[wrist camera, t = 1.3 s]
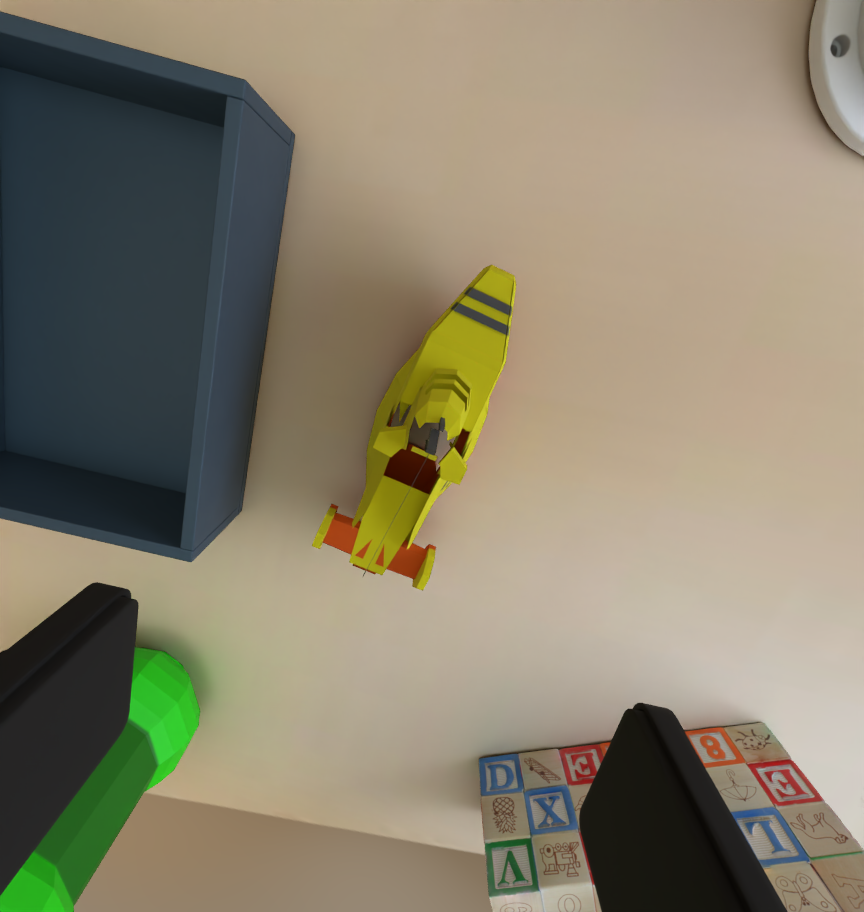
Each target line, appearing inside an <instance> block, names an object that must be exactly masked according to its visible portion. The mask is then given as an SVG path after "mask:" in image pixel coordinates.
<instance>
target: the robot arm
mask: <svg viewBox="0 0 864 912" xmlns="http://www.w3.org/2000/svg"><path fill="white" fill-rule="evenodd" d="M808 55H809V65H810V75H811V83H812V86H813V90H814V93H815V97H816V100H817V103H818V107H819V108H820V110H821V112H822V114H823V116H824V118H825V119H826V121H827V123H828V125H829V127H830V128H831V129H832V130H833V131H834V133H835V134H836V135H837V136H838V137H839V138H840V139H841V140H842V141H843V143H844V144H845V145H847V146H848V147H850V148H851V149H853V150H854V151H856V152H857V153H859V154H860V155H862V156H863V157H864V0H816V4H815V8H814V12H813V16H812V21H811V27H810V40H809V53H808ZM137 617H138V602H137V600H135V599H131V593H130V591H129V590H128V589H125V588H120V587H116V586H111V585H107V584H102V583H98V582H97V583H92V584H90V585H89V586H87V587H86V588H85V589H83V590H82V591H81V592H80V593H78V594H77V595H76V596H75V597H73V598H72V599H71V600H70V601H68V602H67V603H66V604H65V605H63V606H62V607H61V608H59V609H58V610H57V611H56V612H54V613H53V614H52V615H51V616H49V617H48V618H47V619H46V620H44V621H43V622H42V623H40V624H39V625H38V626H37V627H35V628H34V629H33V630H32V631H30V632H29V633H28V634H27V635H25V636H24V637H23V638H22V639H20V640H19V641H18V642H16V643H15V644H14V645H13V646H11V647H10V648H9V649H8V650H4V651H2V652H0V896H1V894H2V893H3V892H4V890H5V889H6V888H7V886H8V885H9V884H10V882H11V881H12V880H13V878H14V877H15V876H16V874H17V873H18V872H19V870H20V869H21V868H22V866H23V865H24V864H25V862H26V861H27V860H28V858H29V857H30V855H31V854H32V853H33V851H34V850H35V849H36V847H37V846H38V845H39V843H40V842H41V841H42V839H43V838H44V837H45V835H46V834H47V833H48V831H49V830H50V829H51V827H52V826H53V825H54V823H55V822H56V821H57V819H58V818H59V817H60V815H61V814H62V813H63V811H64V810H65V809H66V807H67V806H68V805H69V803H70V802H71V801H72V799H73V798H74V797H75V795H76V794H77V793H78V791H79V790H80V789H81V787H82V786H83V785H84V783H85V782H86V781H87V779H88V778H89V777H90V775H91V774H92V773H93V771H94V770H95V769H96V767H97V766H98V765H99V763H100V762H101V761H102V759H103V758H104V757H105V755H106V754H107V753H108V751H109V750H110V749H111V747H112V746H113V745H114V743H115V742H116V741H117V739H118V738H119V736H120V735H121V733H122V732H123V730H124V728H125V726H126V723H127V720H128V717H129V712H130V700H131V688H132V676H133V664H134V653H135V641H136V629H137ZM579 826H580V832H581V836H582V839H583V843H584V847H585V851H586V855H587V858H588V862H589V866H590V870H591V873H592V877H593V881H594V885H595V888H596V892H597V896H598V900H599V904H600V907H601V911H602V912H788V911H787V910H786V908H785V906H784V904H783V903H782V901H781V899H780V897H779V896H778V894H777V892H776V890H775V889H774V887H773V885H772V883H771V882H770V880H769V878H768V876H767V875H766V873H765V871H764V869H763V868H762V866H761V864H760V862H759V861H758V859H757V857H756V855H755V854H754V852H753V850H752V849H751V847H750V845H749V843H748V842H747V840H746V838H745V836H744V835H743V833H742V831H741V829H740V828H739V826H738V824H737V822H736V821H735V819H734V817H733V815H732V814H731V812H730V810H729V808H728V807H727V805H726V803H725V801H724V800H723V798H722V796H721V794H720V793H719V791H718V789H717V787H716V786H715V784H714V782H713V780H712V779H711V777H710V775H709V773H708V772H707V770H706V768H705V766H704V765H703V763H702V761H701V760H700V758H699V756H698V754H697V753H696V751H695V749H694V747H693V746H692V744H691V742H690V740H689V739H688V737H687V735H686V733H685V732H684V730H683V728H682V726H681V725H680V723H679V721H678V719H677V718H676V716H675V715H674V713H673V712H672V711H671V710H669V709H667V708H662V707H658V706H653V705H649V704H644V703H637V704H636V705H635V706H634V707H633V709H627V710H626V711H625V713H624V714H623V717H622V719H621V721H620V723H619V725H618V727H617V730H616V732H615V734H614V736H613V738H612V741H611V743H610V745H609V747H608V749H607V752H606V754H605V756H604V758H603V760H602V762H601V765H600V767H599V769H598V771H597V773H596V776H595V778H594V780H593V782H592V784H591V786H590V789H589V791H588V793H587V795H586V797H585V800H584V802H583V804H582V806H581V809H580V814H579Z"/></svg>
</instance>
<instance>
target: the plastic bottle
mask: <svg viewBox="0 0 864 912" xmlns="http://www.w3.org/2000/svg"><path fill="white" fill-rule="evenodd" d="M199 716H200V709H199V706H198V703H197V699H196V696H195V693H194V690H193V687H192V684H191V681H190V677H189V674H188V673H187V672H186V671H185V670H184V668H183V666H182V665H181V664H180V663H179V662H177V661H176V660H175V659H174V658H172V657H171V656H170V655H169V654H167V653H166V652H163V651H158V650H152V649H147V648H137V647H135V653H134V664H133V676H132V688H131V700H130V712H129V717H128V720H127V723H126V726H125V728H124V730H123V732H122V733H121V735H120V736H119V738H118V739H117V741H116V742H115V743H114V745H113V746H112V747H111V749H110V750H109V751H108V753H107V754H106V755H105V757H104V758H103V759H102V761H101V762H100V763H99V765H98V766H97V767H96V769H95V770H94V771H93V773H92V774H91V775H90V777H89V778H88V779H87V781H86V782H85V783H84V785H83V786H82V787H81V789H80V790H79V791H78V793H77V794H76V795H75V797H74V798H73V799H72V801H71V802H70V803H69V805H68V806H67V807H66V809H65V810H64V811H63V813H62V814H61V815H60V817H59V818H58V819H57V821H56V822H55V823H54V825H53V826H52V827H51V829H50V830H49V831H48V833H47V834H46V835H45V837H44V838H43V839H42V841H41V842H40V843H39V845H38V846H37V847H36V849H35V850H34V851H33V853H32V854H31V855H30V857H29V858H28V860H27V861H26V862H25V864H24V865H23V866H22V868H21V869H20V870H19V872H18V873H17V874H16V876H15V877H14V878H13V880H12V881H11V882H10V884H9V885H8V886H7V888H6V889H5V890H4V892H3V893H2V894H1V896H0V912H74V905H75V903H76V902H77V900H78V899H79V897H80V895H81V894H82V892H83V890H84V889H85V887H86V886H87V884H88V882H89V881H90V879H91V877H92V876H93V874H94V873H95V871H96V869H97V868H98V866H99V864H100V863H101V861H102V859H103V858H104V856H105V855H106V853H107V851H108V850H109V848H110V847H111V845H112V843H113V842H114V840H115V838H116V837H117V835H118V834H119V832H120V830H121V829H122V827H123V825H124V824H125V822H126V821H127V819H128V817H129V816H130V814H131V812H132V811H133V809H134V808H135V806H136V804H137V803H138V801H139V799H140V798H141V796H142V795H143V793H144V792H145V791H147V790H148V789H150V788H151V787H153V786H155V785H156V784H158V783H159V782H160V781H162V780H163V779H164V778H165V777H166V776H168V775H169V774H170V773H171V772H172V771H173V770H174V769H175V767H176V766H177V764H178V762H179V760H180V759H181V757H182V755H183V753H184V751H185V750H186V748H187V746H188V744H189V742H190V740H191V738H192V736H193V735H194V733H195V731H196V729H197V727H198V725H199Z"/></svg>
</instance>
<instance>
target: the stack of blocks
mask: <svg viewBox="0 0 864 912" xmlns="http://www.w3.org/2000/svg"><path fill="white" fill-rule="evenodd" d="M684 732H685V733H686V735H687V737H688V739H689V740H690V742H691V744H692V746H693V747H694V749H695V751H696V753H697V754H698V756H699V758H700V760H701V761H702V763H703V765H704V766H705V768H706V770H707V772H708V773H709V775H710V777H711V779H712V780H713V782H714V784H715V786H716V787H717V789H718V791H719V793H720V794H721V796H722V798H723V800H724V801H725V803H726V805H727V807H728V808H729V810H730V812H731V814H732V815H733V817H734V819H735V821H736V822H737V824H738V826H739V828H740V829H741V831H742V833H743V835H744V836H745V838H746V840H747V842H748V843H749V845H750V847H751V849H752V850H753V852H754V854H755V855H756V857H757V859H758V861H759V862H760V864H761V866H762V868H763V869H764V871H765V873H766V875H767V876H768V878H769V880H770V882H771V883H772V885H773V887H774V889H775V890H776V892H777V894H778V896H779V897H780V899H781V901H782V903H783V904H784V906H785V908H786V910H787V911H788V912H864V850H863V848H862V847H861V846H860V845H859V843H858V842H857V841H856V840H855V839H854V838H853V837H852V835H851V833H850V832H849V830H848V829H847V828H846V827H845V826H844V825H843V823H842V822H841V820H840V819H839V817H838V816H837V815H836V814H835V813H834V811H833V810H832V809H831V808H830V806H829V805H828V804H826V803H825V801H824V800H823V798H822V797H821V796H820V794H819V793H818V792H817V791H816V789H815V788H814V787H813V785H812V784H811V783H810V782H809V780H808V779H807V778H806V777H805V775H804V774H803V773H802V772H801V770H800V769H799V768H798V766H797V765H796V764H795V763H794V762H793V761H792V760H791V757H790V756H789V754H788V753H787V751H786V750H785V749H784V748H783V746H782V745H781V744H780V742H779V741H778V740H777V739H776V737H775V736H774V735H773V733H772V732H771V731H770V730H769V728H768V727H767V726H766V725H765V724H764V723H755V724H748V725H739V726H730V727H725V728H722V727H716V728H708V729H700V730H693V731H684ZM610 743H611V742H607V743H601V744H599V745H588V746H579V747H571V748H564V749H560V750H558V749H550V750H543V751H535V752H526V753H519V754H509V755H501V756H495V757H486V758H480V759H479V773H480V789H481V809H482V823H483V836H484V843H485V856H486V866H487V867H486V868H487V880H488V892H489V898H490V902H491V907H492V911H493V912H602V911H601V907H600V904H599V900H598V896H597V892H596V888H595V885H594V881H593V877H592V873H591V870H590V866H589V862H588V858H587V855H586V851H585V847H584V843H583V839H582V836H581V832H580V826H579V814H580V809H581V806H582V804H583V802H584V800H585V797H586V795H587V793H588V791H589V789H590V786H591V784H592V782H593V780H594V778H595V776H596V773H597V771H598V769H599V767H600V765H601V762H602V760H603V758H604V756H605V754H606V752H607V749H608V747H609V745H610Z"/></svg>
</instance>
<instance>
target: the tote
mask: <svg viewBox="0 0 864 912" xmlns="http://www.w3.org/2000/svg"><path fill="white" fill-rule="evenodd" d="M294 139H295V134H294V133H293V132H292V131H291V130H290V129H289V128H288V127H287V126H286V124H285V123H284V122H283V121H282V120H281V119H280V118H279V117H278V116H277V114H276V113H275V112H274V111H273V110H272V109H271V108H270V107H269V106H268V104H267V103H266V102H265V101H264V100H263V99H262V98H261V97H260V96H259V94H258V93H257V92H256V91H255V90H254V89H253V88H252V87H251V86H250V85H249V83H248V82H247V81H246V80H244V79H240V78H237V77H233V76H230V75H226V74H223V73H219V72H215V71H212V70H208V69H205V68H201V67H197V66H194V65H190V64H187V63H183V62H180V61H176V60H172V59H169V58H165V57H162V56H158V55H154V54H151V53H147V52H144V51H140V50H137V49H133V48H129V47H126V46H122V45H119V44H115V43H111V42H108V41H104V40H101V39H97V38H94V37H90V36H86V35H83V34H79V33H76V32H72V31H68V30H65V29H61V28H58V27H54V26H51V25H47V24H43V23H40V22H36V21H33V20H29V19H25V18H22V17H18V16H15V15H11V14H8V13H4V12H0V518H1V519H6V520H10V521H14V522H19V523H23V524H27V525H32V526H36V527H40V528H45V529H49V530H53V531H58V532H62V533H66V534H71V535H75V536H79V537H84V538H88V539H92V540H97V541H101V542H105V543H110V544H114V545H118V546H123V547H127V548H131V549H136V550H140V551H144V552H149V553H153V554H157V555H162V556H166V557H170V558H175V559H179V560H183V561H188V562H192V561H193V560H194V559H195V558H196V557H197V556H198V555H199V554H200V553H201V552H202V551H203V550H204V549H205V548H206V547H207V546H208V545H209V544H210V543H211V542H212V541H213V540H214V539H215V538H216V537H217V536H218V535H219V534H220V533H221V532H222V531H223V530H224V529H225V528H226V527H227V526H228V524H229V523H230V522H231V521H232V520H233V519H234V518H235V517H236V516H237V515H238V514H239V513H240V512H241V511H242V504H243V497H244V490H245V483H246V476H247V469H248V462H249V455H250V448H251V441H252V434H253V427H254V420H255V413H256V406H257V399H258V392H259V385H260V377H261V370H262V363H263V356H264V349H265V342H266V335H267V328H268V321H269V314H270V307H271V300H272V293H273V286H274V279H275V272H276V265H277V258H278V251H279V244H280V237H281V230H282V223H283V216H284V209H285V202H286V195H287V188H288V181H289V174H290V167H291V160H292V153H293V146H294Z"/></svg>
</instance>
